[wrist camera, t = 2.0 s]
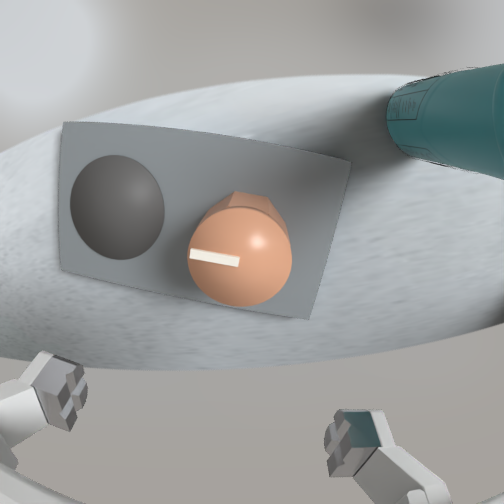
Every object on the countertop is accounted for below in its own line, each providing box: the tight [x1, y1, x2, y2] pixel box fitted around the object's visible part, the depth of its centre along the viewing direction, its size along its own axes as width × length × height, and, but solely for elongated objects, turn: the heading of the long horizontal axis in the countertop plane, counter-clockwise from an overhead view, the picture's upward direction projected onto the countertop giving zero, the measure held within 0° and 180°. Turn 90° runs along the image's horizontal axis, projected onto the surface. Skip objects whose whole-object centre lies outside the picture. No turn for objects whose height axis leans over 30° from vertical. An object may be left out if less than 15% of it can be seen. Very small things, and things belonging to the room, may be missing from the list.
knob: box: [187, 191, 292, 307], centre depth 22 cm, size 6×6×6 cm
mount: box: [58, 122, 352, 320], centre depth 24 cm, size 24×14×6 cm, turn 80°
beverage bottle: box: [386, 64, 504, 180], centre depth 14 cm, size 6×7×20 cm
